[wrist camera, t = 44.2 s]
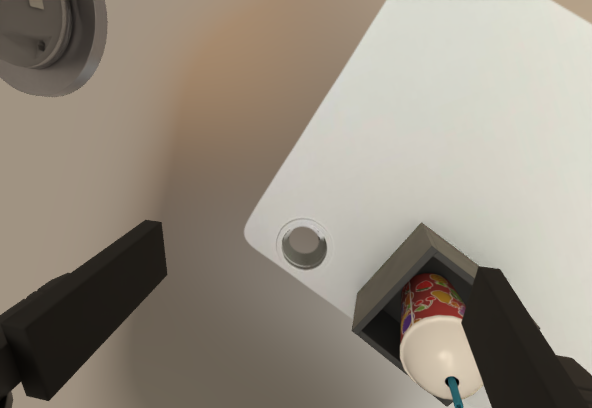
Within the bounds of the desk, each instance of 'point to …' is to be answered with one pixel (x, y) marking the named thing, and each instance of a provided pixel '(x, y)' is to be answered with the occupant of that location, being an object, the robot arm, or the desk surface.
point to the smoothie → (436, 339)
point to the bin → (394, 276)
